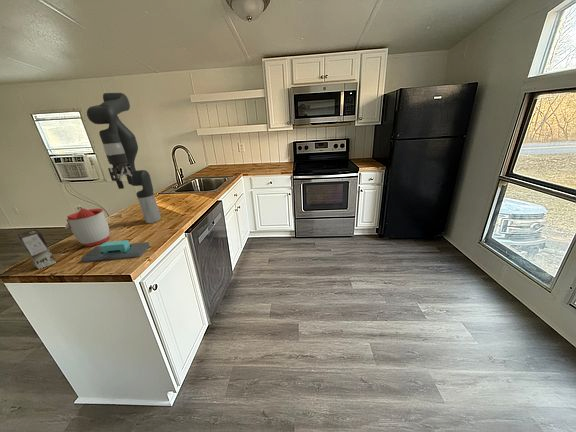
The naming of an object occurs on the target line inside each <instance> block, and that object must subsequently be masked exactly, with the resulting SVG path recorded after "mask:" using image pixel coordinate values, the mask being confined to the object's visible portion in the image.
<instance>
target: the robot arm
mask: <svg viewBox="0 0 576 432" xmlns="http://www.w3.org/2000/svg"><path fill="white" fill-rule="evenodd" d="M102 100H103V102H101V103H100V104H98V105H97V104H96V105H93V106H89V107H88V108H87V110H86V116H87V118H88V120H89V121H90V122H91V123H92V124H95V125H108V127H107V128H106V129H102V130H100V131H99V137H100V140H101V143H102V146H103V150H104V153H105V156H106V159H107V162H108V164H109V165H112V167H108V168H107V170H108V173H109V176H110V178H111V181H112V182H116V185H117V188H118V190H123V189H125V186H124V183H123V180H122V179H123V176H125V177H126V180H127V184H129V185H131V186H132V187H138V186H139V187H140V186H142V189H141V190H139V191H137V192H136V197H137V200H138V203H139V206H140V209H141V212H142V213H141V214H142V216H143V219H144V223H146V224H155V223H157V222H160V221H161V220H162V217H161V213H160V212H161V211H160V209H159V206H158V204H157V203H158V202H157V200H156V197H155V193H154V187H153V182H152V179H151V175H150V173H149V171H147V170H145V169H142V170H139V169H138V170H136V166H135V160H136V157H137V153H138V150H139V146H138V142H137V139H136V136H135V134H134V132H133V131H131V130H130V129H129V127H127V126H126V125H125V123H123V122H122V120H121V119H120V118H119V116H118V115H119V114H121V113H124V112H127V111H129V110H130V109H131V104H130V100H129V98H128V97H127V95H126V94H125V93H122V92H105V93H103V94H102Z"/></svg>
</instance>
